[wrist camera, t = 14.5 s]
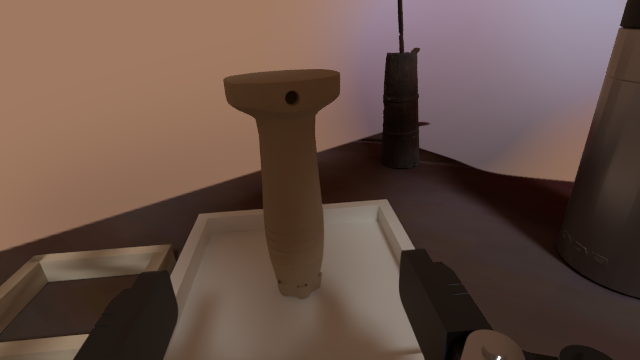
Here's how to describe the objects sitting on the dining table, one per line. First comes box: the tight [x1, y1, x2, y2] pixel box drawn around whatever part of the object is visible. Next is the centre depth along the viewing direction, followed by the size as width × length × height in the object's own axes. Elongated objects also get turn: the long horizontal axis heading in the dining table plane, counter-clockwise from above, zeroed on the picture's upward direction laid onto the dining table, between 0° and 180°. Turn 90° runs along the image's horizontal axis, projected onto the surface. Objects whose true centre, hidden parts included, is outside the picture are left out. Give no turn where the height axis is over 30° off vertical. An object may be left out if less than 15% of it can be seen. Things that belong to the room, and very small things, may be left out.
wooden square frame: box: [0, 244, 176, 360], centre depth 24 cm, size 11×10×2 cm
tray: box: [163, 199, 425, 360], centre depth 25 cm, size 18×18×2 cm
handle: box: [224, 69, 340, 299], centre depth 22 cm, size 5×6×15 cm
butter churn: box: [382, 0, 420, 168], centre depth 44 cm, size 9×10×28 cm
